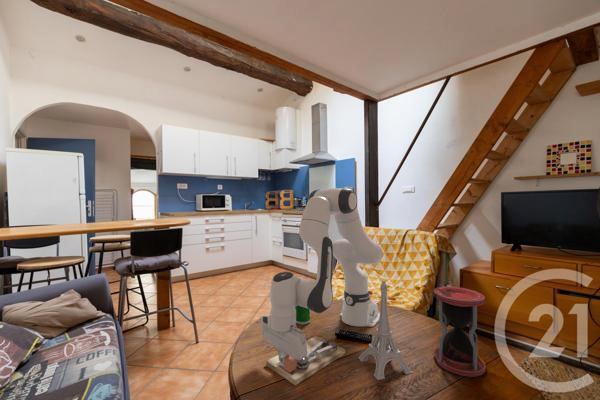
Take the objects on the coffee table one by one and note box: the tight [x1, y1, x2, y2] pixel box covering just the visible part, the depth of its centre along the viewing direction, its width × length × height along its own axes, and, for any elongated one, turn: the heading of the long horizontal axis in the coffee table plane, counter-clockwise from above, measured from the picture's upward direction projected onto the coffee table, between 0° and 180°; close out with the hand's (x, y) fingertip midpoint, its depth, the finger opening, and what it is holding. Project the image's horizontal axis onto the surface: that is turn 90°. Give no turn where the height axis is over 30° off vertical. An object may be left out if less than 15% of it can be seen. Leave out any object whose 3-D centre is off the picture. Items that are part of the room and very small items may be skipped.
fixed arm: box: [296, 341, 338, 370], centre depth 100 cm, size 19×5×2 cm, turn 128°
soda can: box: [295, 306, 311, 326], centre depth 133 cm, size 8×8×12 cm
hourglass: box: [432, 286, 486, 378], centre depth 99 cm, size 16×16×25 cm
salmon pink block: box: [284, 355, 296, 372], centre depth 93 cm, size 3×3×4 cm
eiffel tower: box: [357, 279, 414, 381], centre depth 98 cm, size 13×13×30 cm
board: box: [265, 335, 346, 386], centre depth 102 cm, size 26×15×2 cm, turn 134°
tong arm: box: [296, 338, 330, 365], centre depth 101 cm, size 18×4×2 cm, turn 147°
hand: (283, 361), depth 95 cm, fingers closed
